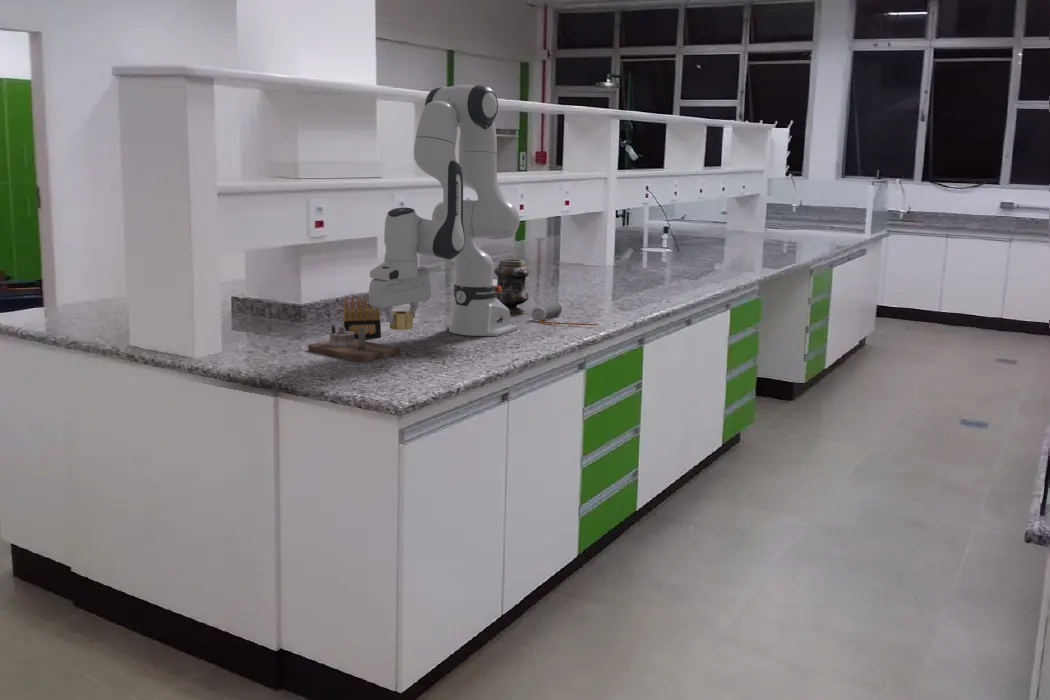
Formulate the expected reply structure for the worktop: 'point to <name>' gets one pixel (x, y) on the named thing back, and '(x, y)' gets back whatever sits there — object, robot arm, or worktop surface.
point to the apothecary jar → (512, 283)
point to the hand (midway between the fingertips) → (401, 320)
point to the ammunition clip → (362, 318)
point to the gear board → (352, 346)
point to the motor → (549, 313)
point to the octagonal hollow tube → (402, 320)
